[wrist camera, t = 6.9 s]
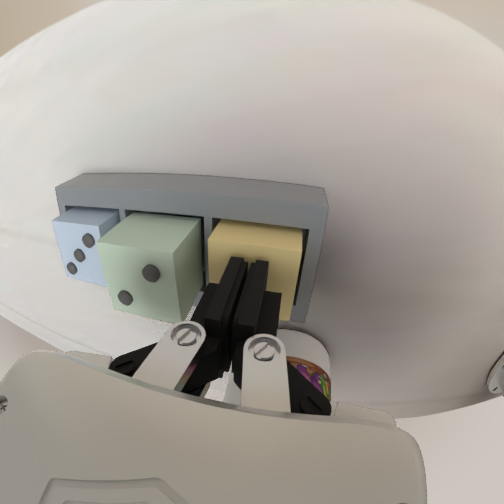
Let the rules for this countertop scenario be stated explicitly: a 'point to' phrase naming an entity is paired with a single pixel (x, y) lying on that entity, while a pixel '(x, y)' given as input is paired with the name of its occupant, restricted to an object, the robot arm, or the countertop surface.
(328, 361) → the milk bottle
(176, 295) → the pale green cube
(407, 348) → the countertop surface
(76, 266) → the blue pip cube
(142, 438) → the robot arm
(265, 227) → the single pip yellow cube
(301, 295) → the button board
